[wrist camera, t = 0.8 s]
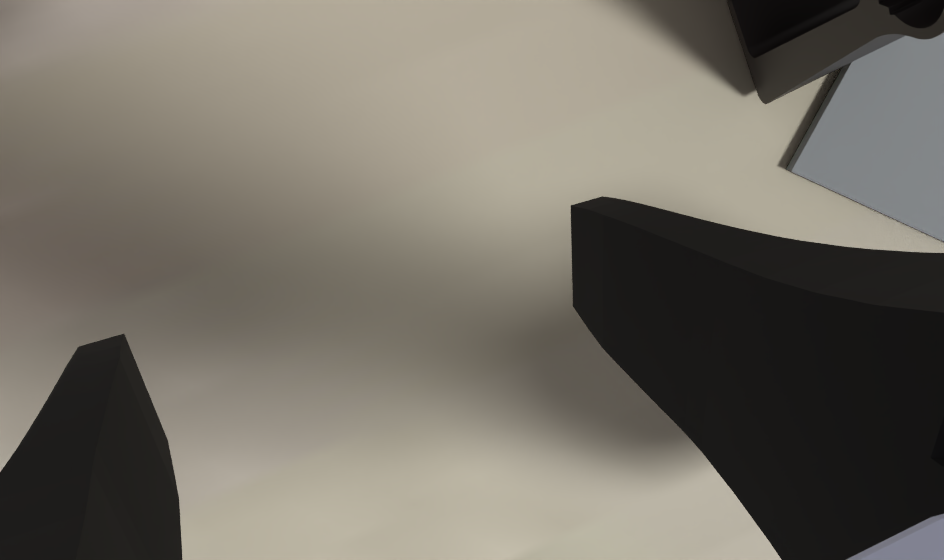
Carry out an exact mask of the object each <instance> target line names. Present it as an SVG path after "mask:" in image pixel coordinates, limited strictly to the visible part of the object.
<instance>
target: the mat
mask: <svg viewBox="0 0 944 560" xmlns="http://www.w3.org/2000/svg"><path fill="white" fill-rule="evenodd" d="M786 170H789V171H791V172H793V173H795V174H797V175H799V176H802V177H804V178H806V179H808V180H810V181H813V182H815V183H817V184H819V185H821V186H823V187H826V188H828V189H830V190H832V191H834V192H836V193H839V194H841V195H843V196H845V197H847V198H850V199H852V200H854V201H856V202H858V203H860V204H863V205H865V206H867V207H869V208H871V209H873V210H876V211H878V212H880V213H882V214H884V215H886V216H889V217H891V218H893V219H895V220H897V221H900V222H902V223H904V224H906V225H908V226H910V227H913V228H915V229H917V230H919V231H921V232H923V233H926V234H928V235H930V236H932V237H934V238H937V239H939V240H941V241H943V242H944V33H943V34H941V35H939V36H937V37H934V38H932V39H925V40H924V39H916V38H913V37H910V36H904V37H902V38H900V39H898V40H896V41H894V42H892V43H890V44H888V45H886V46H884V47H881V48H879V49H877V50H875V51H873V52H871V53H869V54H867V55H865V56H863V57H861V58H859V59H857V60H855V61H853V62H851V63H849V64H847V65H845V66H843V67H842V69H841V71H840V72H839V74H838V76H837V78H836V80H835V82H834V83H833V85H832V87H831V89H830V91H829V92H828V94H827V96H826V98H825V100H824V101H823V103H822V105H821V107H820V109H819V111H818V112H817V114H816V116H815V118H814V120H813V121H812V123H811V125H810V127H809V129H808V130H807V132H806V134H805V136H804V138H803V139H802V141H801V143H800V145H799V147H798V149H797V150H796V152H795V154H794V156H793V158H792V159H791V161H790V163H789V165H788V167H787V168H786Z"/></svg>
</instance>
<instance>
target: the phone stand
mask: <svg viewBox="0 0 944 560" xmlns="http://www.w3.org/2000/svg"><path fill="white" fill-rule="evenodd" d="M727 2H728V5H729V8H730V11H731V14H732V17H733V20H734V23H735V26H736V29H737V32H738V35H739V38H740V41H741V44H742V47H743V50H744V53H745V57H746V60H747V63H748V66H749V69H750V72H751V75H752V78H753V81H754V84H755V87H756V90H757V93H758V96H759V98H760V99H761V101H762V102H763V103H764V104H767V103H769V102H771V101H773V100H775V99H777V98H779V97H782V96H784V95H786V94H788V93H790V92H792V91H794V90H796V89H798V88H800V87H802V86H804V85H806V84H808V83H810V82H812V81H814V80H816V79H818V78H820V77H822V76H824V75H826V74H828V73H830V72H833V71H835V70H837V69H839V68H841V67H843V66H845V65H847V64H849V63H851V62H853V61H855V60H857V59H859V58H861V57H863V56H865V55H867V54H869V53H871V52H873V51H875V50H877V49H879V48H881V47H884V46H886V45H888V44H890V43H892V42H894V41H896V40H898V39H900V38H902V37H904V36H910V37H913V38H916V39H924V40H925V39H932V38H934V37H937V36H939V35H941V34H943V33H944V0H727Z"/></svg>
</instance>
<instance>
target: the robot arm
mask: <svg viewBox="0 0 944 560" xmlns="http://www.w3.org/2000/svg"><path fill="white" fill-rule="evenodd" d="M571 238H572V281H573V307H574V308H575V310H576V311H577V313H578V314H579V316H580V317H581V319H582V320H583V321H584V323H585V324H586V326H587V327H588V329H589V330H590V332H591V333H592V334H593V336H594V337H595V338H596V340H597V341H598V342H599V344H600V345H601V346H602V348H603V349H604V350H605V351H606V352H607V353H608V354H609V355H610V356H611V357H612V359H613V360H614V361H615V362H616V363H617V364H618V365H619V366H620V367H621V368H622V369H623V370H624V371H625V372H626V373H627V374H628V375H629V376H630V377H631V378H632V379H633V380H634V381H635V382H636V383H637V384H638V385H639V386H640V388H641V389H642V390H643V391H644V392H645V393H646V394H647V395H648V396H649V397H650V398H651V399H652V400H653V401H654V402H655V403H656V404H657V405H658V406H659V407H660V408H661V409H662V410H663V411H664V412H665V413H666V414H667V415H668V416H669V417H670V418H671V419H672V420H673V421H674V422H675V423H676V424H677V425H678V426H679V427H680V428H681V429H682V430H683V431H684V432H685V433H686V435H687V436H688V437H689V438H690V439H691V440H692V441H693V442H694V444H695V445H696V446H697V447H698V448H699V449H700V450H701V451H702V453H703V454H704V455H705V456H706V458H707V459H708V460H709V462H710V463H711V464H712V465H713V467H714V468H715V469H716V471H717V472H718V473H719V474H720V476H721V477H722V478H723V479H724V481H725V482H726V483H727V485H728V486H729V487H730V488H731V490H732V491H733V492H734V494H735V495H736V496H737V498H738V499H739V500H740V502H741V503H742V504H743V506H744V507H745V509H746V510H747V511H748V513H749V514H750V515H751V517H752V518H753V520H754V521H755V522H756V524H757V525H758V526H759V528H760V529H761V531H762V532H763V533H764V535H765V536H766V537H767V539H768V540H769V541H770V543H771V544H772V546H773V547H774V549H775V550H776V552H777V553H778V555H779V556H780V558H781V559H782V560H944V253H920V252H903V251H888V250H873V249H862V248H852V247H843V246H835V245H828V244H821V243H814V242H806V241H800V240H794V239H788V238H782V237H777V236H772V235H767V234H762V233H758V232H753V231H748V230H743V229H739V228H735V227H730V226H726V225H722V224H718V223H714V222H710V221H706V220H702V219H698V218H694V217H690V216H686V215H682V214H678V213H675V212H671V211H667V210H663V209H659V208H655V207H652V206H648V205H644V204H639V203H635V202H631V201H626V200H621V199H616V198H609V197H599V198H596V199H592V200H589V201H585V202H582V203H578V204H575V205H571ZM0 560H182V544H181V526H180V509H179V496H178V491H177V486H176V480H175V475H174V470H173V465H172V460H171V455H170V450H169V445H168V440H167V437H166V435H165V433H164V430H163V428H162V425H161V423H160V420H159V418H158V415H157V413H156V411H155V408H154V406H153V403H152V401H151V398H150V396H149V393H148V391H147V389H146V386H145V384H144V381H143V379H142V376H141V374H140V371H139V369H138V367H137V364H136V362H135V359H134V357H133V354H132V352H131V349H130V347H129V345H128V342H127V340H126V337H125V335H124V334H121V335H118V336H114V337H111V338H107V339H104V340H100V341H97V342H93V343H90V344H86V345H83V346H80V347H78V348H77V350H76V352H75V353H74V355H73V356H72V358H71V360H70V361H69V363H68V364H67V366H66V368H65V370H64V371H63V373H62V375H61V377H60V378H59V380H58V382H57V384H56V385H55V387H54V389H53V391H52V392H51V394H50V396H49V397H48V399H47V401H46V403H45V404H44V406H43V408H42V409H41V411H40V413H39V414H38V416H37V417H36V419H35V421H34V422H33V424H32V426H31V427H30V429H29V430H28V432H27V434H26V435H25V437H24V438H23V440H22V442H21V443H20V445H19V446H18V448H17V449H16V451H15V452H14V454H13V455H12V456H11V458H10V459H9V461H8V462H7V464H6V465H5V466H4V468H3V469H2V471H1V472H0Z"/></svg>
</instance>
